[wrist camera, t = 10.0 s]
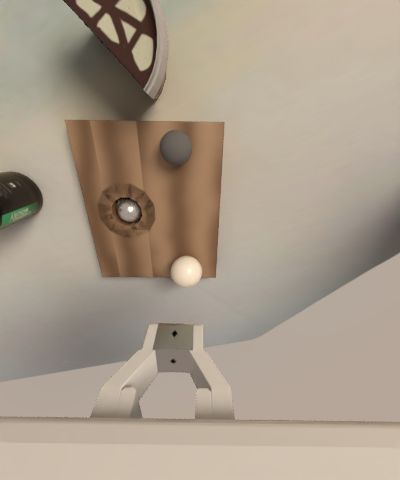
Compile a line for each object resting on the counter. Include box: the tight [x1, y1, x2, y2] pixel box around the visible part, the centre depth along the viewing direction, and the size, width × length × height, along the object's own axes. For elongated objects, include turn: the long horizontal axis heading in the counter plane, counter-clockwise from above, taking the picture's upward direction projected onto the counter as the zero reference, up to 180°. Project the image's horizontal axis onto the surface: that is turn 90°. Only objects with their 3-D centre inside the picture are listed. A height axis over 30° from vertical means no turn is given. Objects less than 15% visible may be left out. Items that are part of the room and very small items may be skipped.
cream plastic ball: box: [171, 256, 202, 288], centre depth 33 cm, size 5×5×5 cm
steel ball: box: [118, 199, 142, 222], centre depth 32 cm, size 4×4×4 cm
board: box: [65, 120, 224, 278], centre depth 32 cm, size 20×24×2 cm
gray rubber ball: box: [160, 130, 192, 166], centre depth 25 cm, size 4×4×4 cm
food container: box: [63, 0, 168, 100], centre depth 20 cm, size 12×6×10 cm, turn 45°
